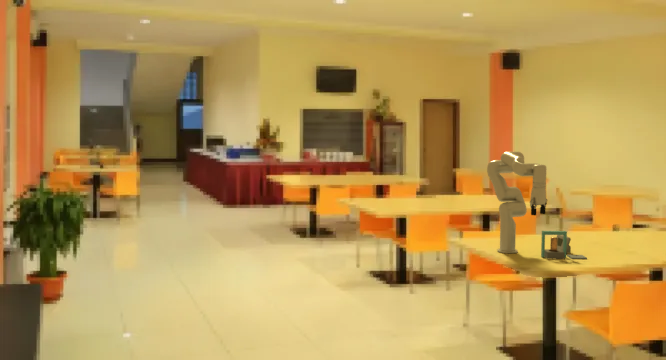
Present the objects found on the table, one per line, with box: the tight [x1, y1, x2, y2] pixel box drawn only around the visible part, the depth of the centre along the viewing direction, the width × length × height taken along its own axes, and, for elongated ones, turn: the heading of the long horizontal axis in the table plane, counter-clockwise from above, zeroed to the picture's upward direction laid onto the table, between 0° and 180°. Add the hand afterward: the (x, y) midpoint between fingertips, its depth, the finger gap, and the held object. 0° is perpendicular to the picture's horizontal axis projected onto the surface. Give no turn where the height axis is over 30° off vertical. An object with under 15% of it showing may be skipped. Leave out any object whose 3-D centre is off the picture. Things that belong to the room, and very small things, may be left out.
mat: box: [566, 254, 588, 260], centre depth 419 cm, size 10×9×1 cm
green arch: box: [540, 230, 568, 258], centre depth 419 cm, size 3×14×16 cm, turn 88°
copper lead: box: [549, 236, 558, 252], centre depth 419 cm, size 4×4×12 cm
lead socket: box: [543, 248, 565, 260], centre depth 420 cm, size 10×10×4 cm
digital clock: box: [555, 235, 572, 254], centre depth 438 cm, size 16×9×11 cm, turn 175°
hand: (538, 214), depth 408 cm, fingers open, 9 cm apart
